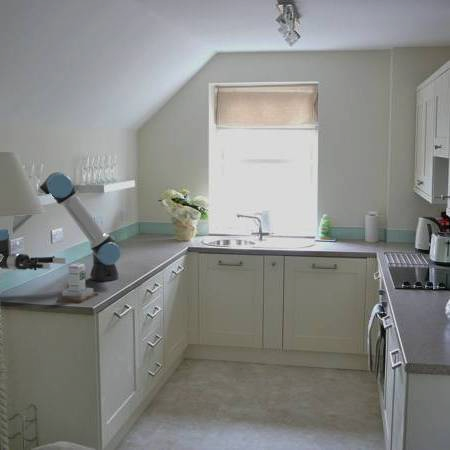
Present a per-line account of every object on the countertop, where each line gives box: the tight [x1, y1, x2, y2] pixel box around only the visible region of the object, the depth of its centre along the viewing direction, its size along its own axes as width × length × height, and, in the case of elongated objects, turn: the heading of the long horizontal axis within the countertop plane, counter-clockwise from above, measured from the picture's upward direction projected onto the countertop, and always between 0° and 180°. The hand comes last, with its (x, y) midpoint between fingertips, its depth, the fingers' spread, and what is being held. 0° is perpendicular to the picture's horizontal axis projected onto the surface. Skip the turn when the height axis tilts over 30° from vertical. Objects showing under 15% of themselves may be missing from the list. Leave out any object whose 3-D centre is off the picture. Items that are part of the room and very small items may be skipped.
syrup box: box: [68, 263, 87, 292], centre depth 299 cm, size 6×6×14 cm
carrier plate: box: [56, 291, 98, 304], centre depth 300 cm, size 16×12×2 cm
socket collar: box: [61, 287, 94, 298], centre depth 300 cm, size 10×10×2 cm
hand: (57, 263), depth 305 cm, fingers open, 13 cm apart
